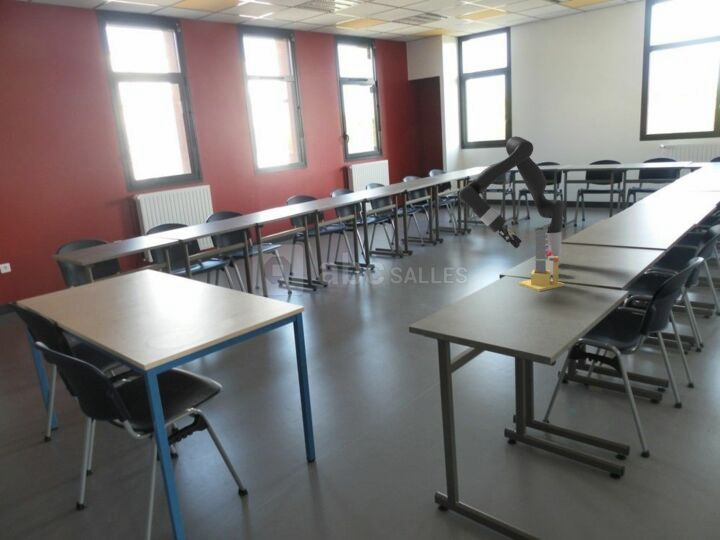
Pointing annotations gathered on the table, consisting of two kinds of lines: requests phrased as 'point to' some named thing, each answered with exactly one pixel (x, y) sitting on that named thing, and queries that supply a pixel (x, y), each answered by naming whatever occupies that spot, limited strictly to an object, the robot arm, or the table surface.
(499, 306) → the table surface
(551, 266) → the pill bottle
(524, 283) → the stand base
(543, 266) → the column
